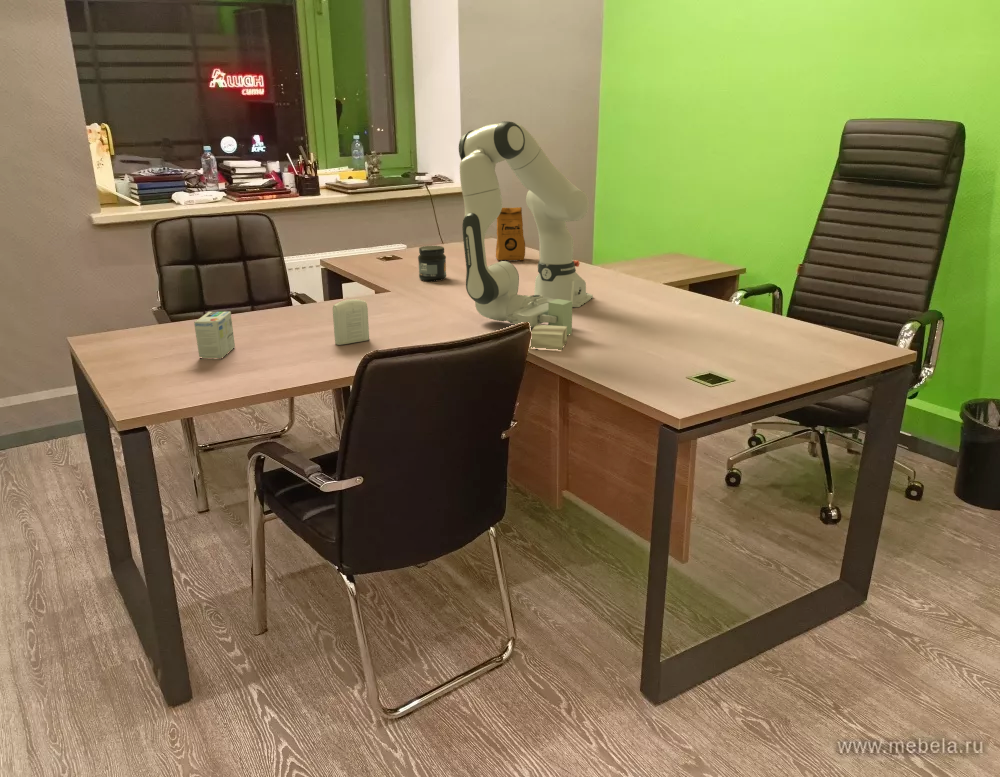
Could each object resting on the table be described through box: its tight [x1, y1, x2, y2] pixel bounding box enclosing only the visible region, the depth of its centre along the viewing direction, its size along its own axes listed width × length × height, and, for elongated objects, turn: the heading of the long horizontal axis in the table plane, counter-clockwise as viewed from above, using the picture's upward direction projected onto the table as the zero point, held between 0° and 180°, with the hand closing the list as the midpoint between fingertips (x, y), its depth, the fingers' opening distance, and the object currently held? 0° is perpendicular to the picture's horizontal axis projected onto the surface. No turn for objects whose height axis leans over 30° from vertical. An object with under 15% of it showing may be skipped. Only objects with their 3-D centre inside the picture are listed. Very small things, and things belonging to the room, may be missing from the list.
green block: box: [547, 299, 573, 336], centre depth 237 cm, size 5×5×10 cm
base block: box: [530, 324, 568, 351], centre depth 228 cm, size 9×9×5 cm
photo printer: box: [332, 298, 370, 346], centre depth 233 cm, size 10×4×12 cm, turn 123°
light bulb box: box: [193, 310, 236, 358], centre depth 224 cm, size 11×7×11 cm, turn 178°
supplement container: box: [417, 245, 447, 282], centre depth 309 cm, size 10×10×12 cm
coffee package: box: [495, 207, 526, 261], centre depth 340 cm, size 10×12×22 cm
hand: (562, 317), depth 237 cm, fingers closed on green block, 5 cm apart
